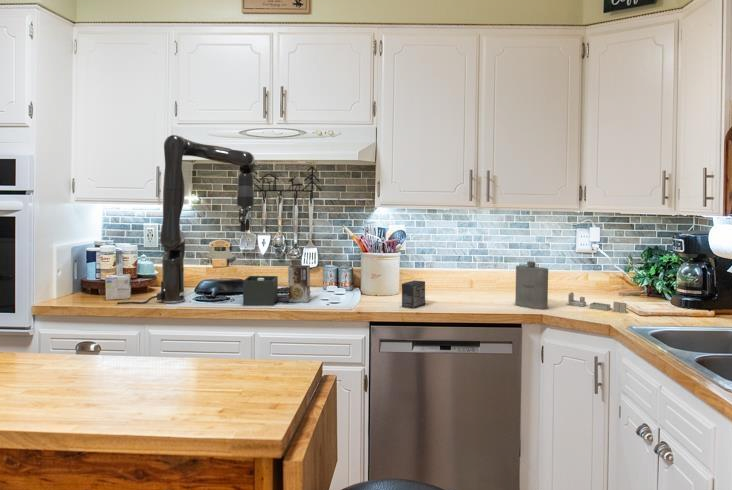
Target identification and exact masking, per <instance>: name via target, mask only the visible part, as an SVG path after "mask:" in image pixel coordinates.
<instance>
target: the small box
mask: <svg viewBox="0 0 732 490" xmlns="http://www.w3.org/2000/svg"><path fill="white" fill-rule="evenodd" d="M424 305H426V281H424V280H411V281H407V282H402V283H401V307H403V308H408V309H416V308H418V307H421V306H424Z"/></svg>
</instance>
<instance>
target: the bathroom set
mask: <svg viewBox="0 0 732 490" xmlns="http://www.w3.org/2000/svg"><path fill="white" fill-rule="evenodd" d="M574 295H575V293H574V292H573V291H571V292H569V293H568V303H567V304H568V306H574V307H581V308H584V307H585V306H587V302H586V297H585V296H579V300H575V298H574V297H575V296H574ZM611 307H613V308H612V310H613V312H616V313H622V314H623V313H624V314H626V313H627V302H619V301H613V305H612V306H611V304H609V303H602V302H594V301H593V302H591V303H589V309H593V310H601V311H609V310H611Z"/></svg>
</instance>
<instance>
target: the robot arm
mask: <svg viewBox="0 0 732 490" xmlns="http://www.w3.org/2000/svg"><path fill="white" fill-rule="evenodd" d="M163 154H164V155H163V156H164V173H163V185H162V186H163V187H162V224H161V231H160V238H159V239H160V240H159V241H160V245H161V246H162V247H163V256H162V259H161V262H162V263H161V264H162V265H161V269H162V270H161V271H162V273H161V274H162V280H161V281H160V291H159V292H157V293H156V295H154V296H152V297H149V298H148V299H147V300H145V301H118V302H117V305H124V304H125V305H127V304H128V305H129V304H137V305H143V304H147V303H149V302H150V301H151V300H153V299H156V301H160V303H164V304H178V303H183V302H185V293H186V292H185V257H186V256H185V253H186V238H185V234H184V231H182V230H181V227H180V223H181V215H182V211H183V208H184V204H185V193H186V192H185V191H186V185H185V178H184V172H183V157H196V158H200V159H201V158H202V159H205V160H208V161H212V162H217V163H221V164H230V165H233V166H234V165H235V166H238V171H239V172H238V175H237V188H236V189H237V190H236V206H237V207H241V208H239V209H238V223H239V232H241V233H245V232H246V231H250V223H251V221H252V207H253V206H254V204H255V188H254V180H255V179H254V173H255V161H256V159H255V156H254V154H253V153H252V152H249V151H245V150H238V149H233V148H229V147H224V146H219V145H214V144H205V143H199V142H196V141H192V140H190V139H186V138H184V137H183V136H181V135H178V134H172V135H169V136H167V137H166V138H165V140H164V142H163Z"/></svg>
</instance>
